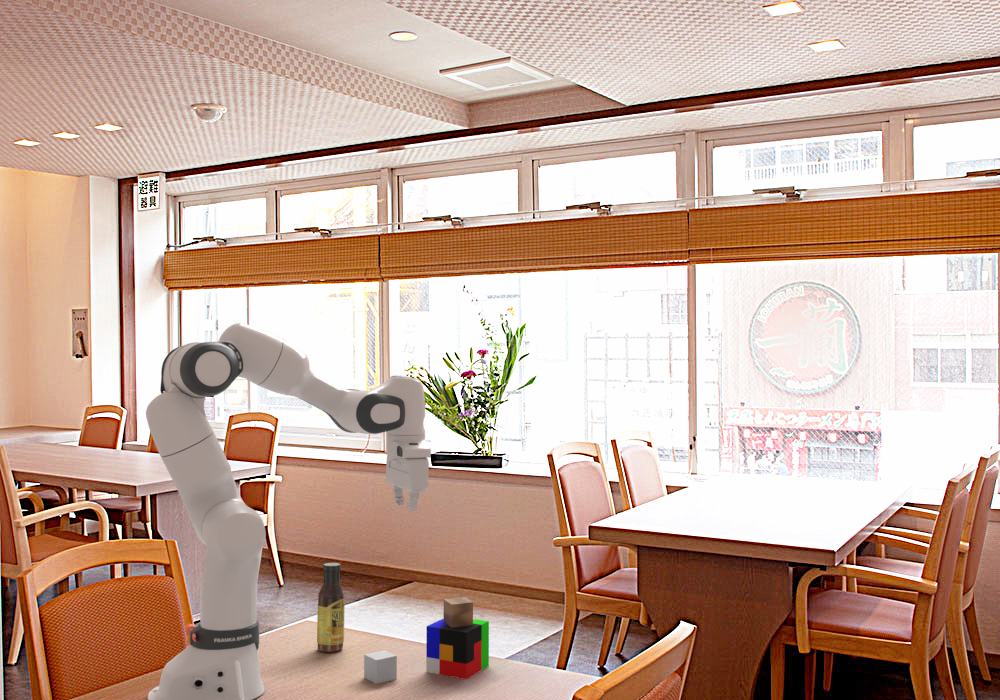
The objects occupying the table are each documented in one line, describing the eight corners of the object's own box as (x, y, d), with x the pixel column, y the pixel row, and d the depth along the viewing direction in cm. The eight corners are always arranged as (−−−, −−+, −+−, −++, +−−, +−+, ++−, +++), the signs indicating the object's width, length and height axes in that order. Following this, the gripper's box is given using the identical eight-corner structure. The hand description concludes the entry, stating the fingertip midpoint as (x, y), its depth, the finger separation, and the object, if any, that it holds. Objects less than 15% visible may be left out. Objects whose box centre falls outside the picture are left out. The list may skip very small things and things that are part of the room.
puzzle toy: (426, 672, 206) (426, 626, 206) (449, 659, 215) (450, 615, 215) (466, 679, 201) (466, 632, 201) (488, 666, 210) (488, 621, 210)
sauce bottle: (335, 654, 218) (335, 568, 218) (311, 651, 220) (311, 566, 220) (349, 646, 224) (349, 562, 224) (326, 644, 226) (326, 560, 226)
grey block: (376, 684, 198) (376, 660, 198) (364, 678, 202) (364, 654, 202) (396, 679, 202) (396, 655, 202) (384, 673, 205) (384, 650, 205)
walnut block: (451, 627, 205) (451, 604, 205) (443, 621, 210) (443, 599, 210) (473, 625, 207) (473, 602, 207) (464, 619, 212) (464, 597, 212)
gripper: (379, 443, 224) (379, 502, 224) (406, 451, 206) (405, 515, 206) (404, 442, 227) (404, 500, 227) (433, 450, 208) (433, 513, 208)
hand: (405, 507), depth 216 cm, fingers open, 8 cm apart
